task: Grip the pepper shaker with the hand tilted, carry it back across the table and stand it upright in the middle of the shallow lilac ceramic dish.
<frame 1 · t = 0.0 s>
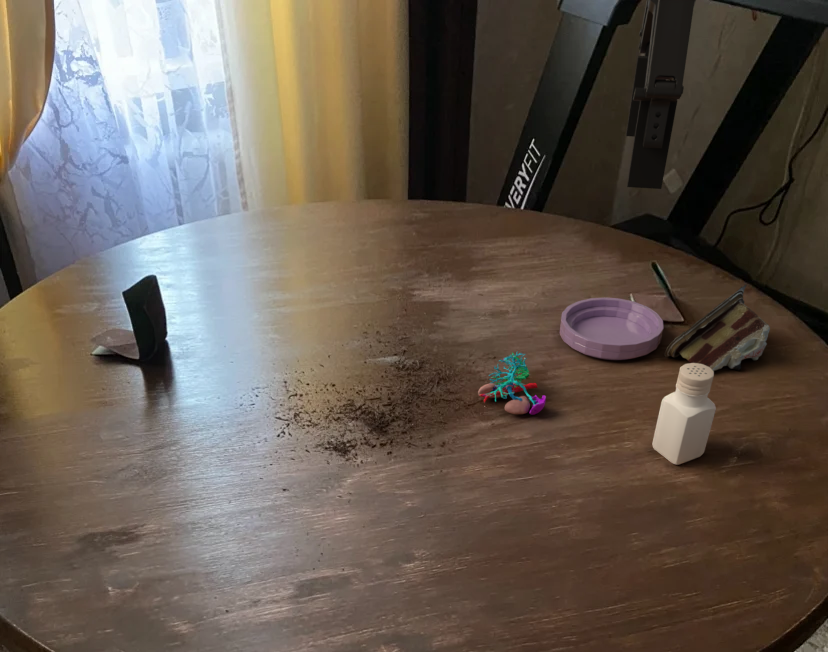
hand: (642, 159, 73), 27 cm above the table, tool pointing down, fingers open, 13 cm apart
pepper shaker: (676, 454, 86), on the table
anatomy model: (506, 406, 93), on the table
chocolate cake: (718, 359, 100), on the table
dish: (609, 338, 104), on the table
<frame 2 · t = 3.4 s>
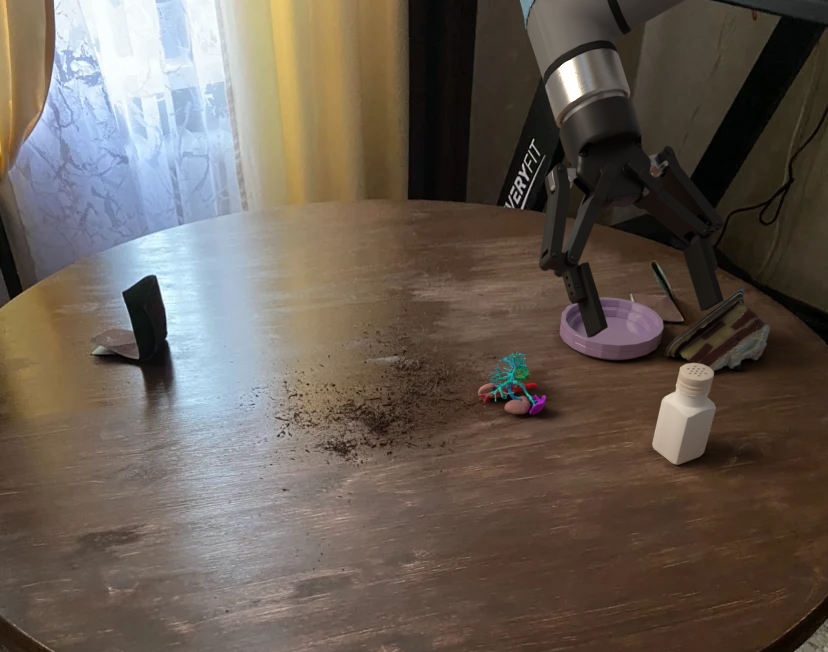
hand: (656, 319, 83), 12 cm above the table, tool tilted 45°, fingers open, 13 cm apart
nothing on the table moved.
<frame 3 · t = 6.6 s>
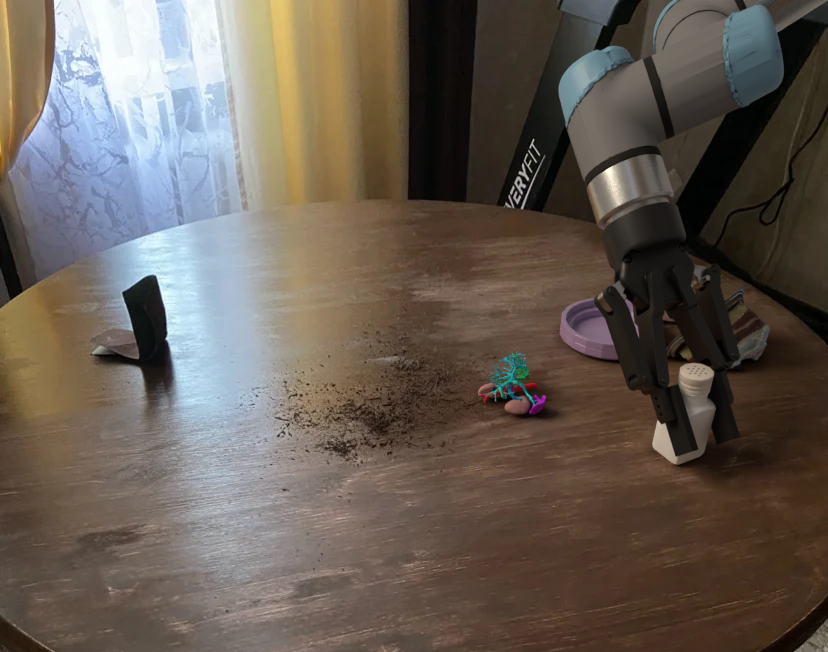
hand: (707, 446, 81), 3 cm above the table, tool tilted 45°, fingers closed on pepper shaker, 4 cm apart
pepper shaker: (676, 454, 86), on the table, touching gripper
everything else where it was.
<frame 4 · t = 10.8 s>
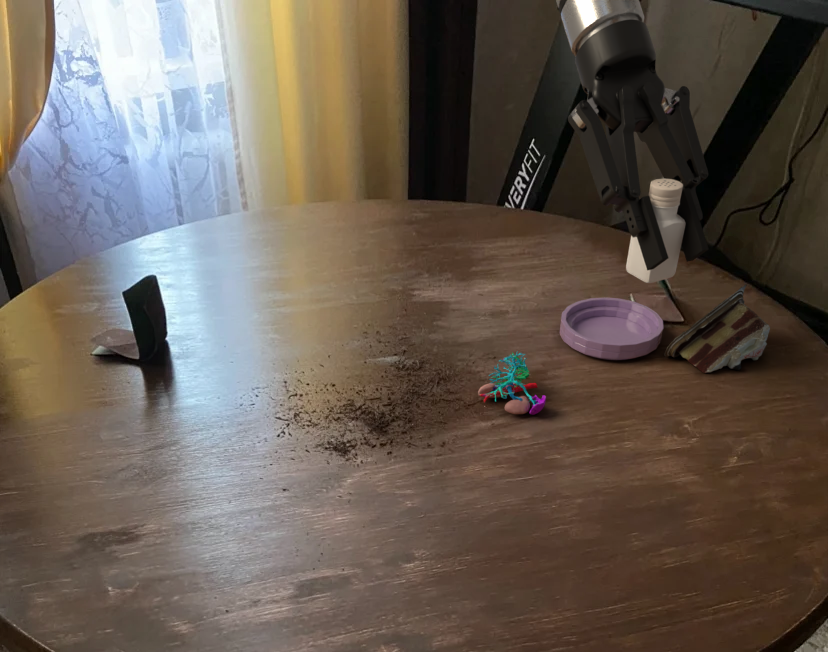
hand: (677, 259, 85), 15 cm above the table, tool tilted 45°, fingers closed on pepper shaker, 4 cm apart
pepper shaker: (649, 277, 89), point 12 cm above the table, touching gripper
everything else where it was.
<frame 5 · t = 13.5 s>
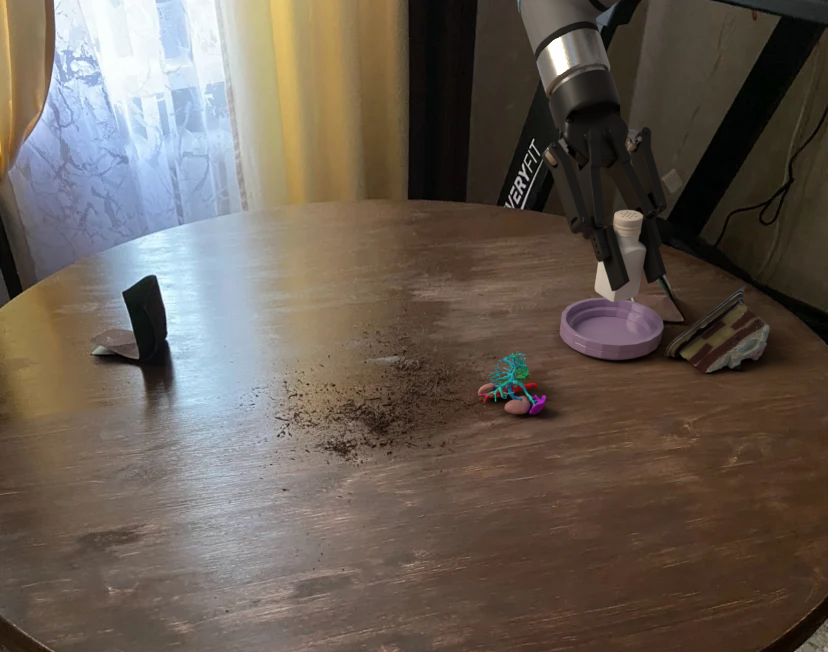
hand: (638, 281, 95), 9 cm above the table, tool tilted 45°, fingers closed on pepper shaker, 4 cm apart
pepper shaker: (615, 296, 100), point 6 cm above the table, touching gripper
everything else where it was.
when the fingers open (4 cm above the table, at t = 15.2 s): pepper shaker stays where it is, resting on dish.
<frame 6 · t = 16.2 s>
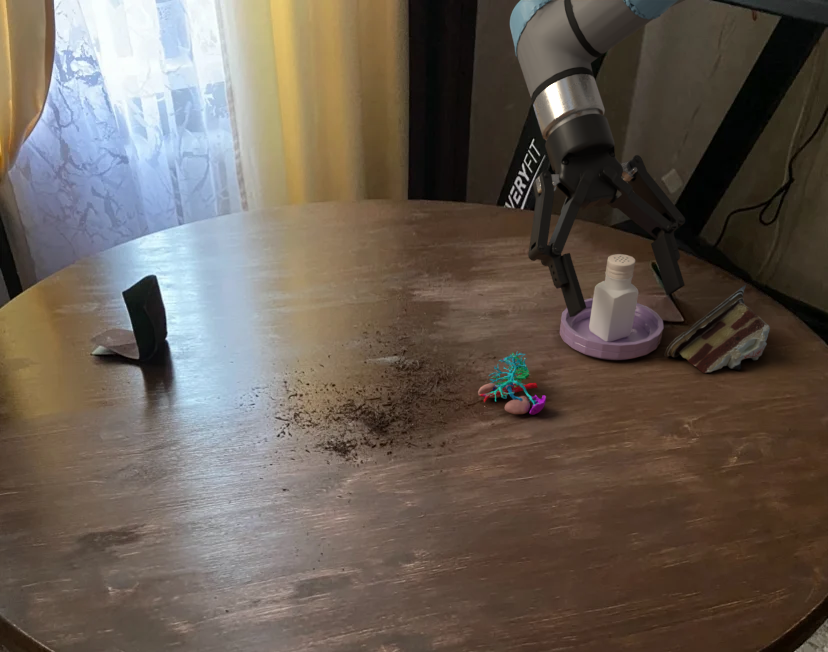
hand: (628, 301, 98), 6 cm above the table, tool tilted 45°, fingers open, 13 cm apart
pepper shaker: (609, 335, 103), resting on dish
everything else where it was.
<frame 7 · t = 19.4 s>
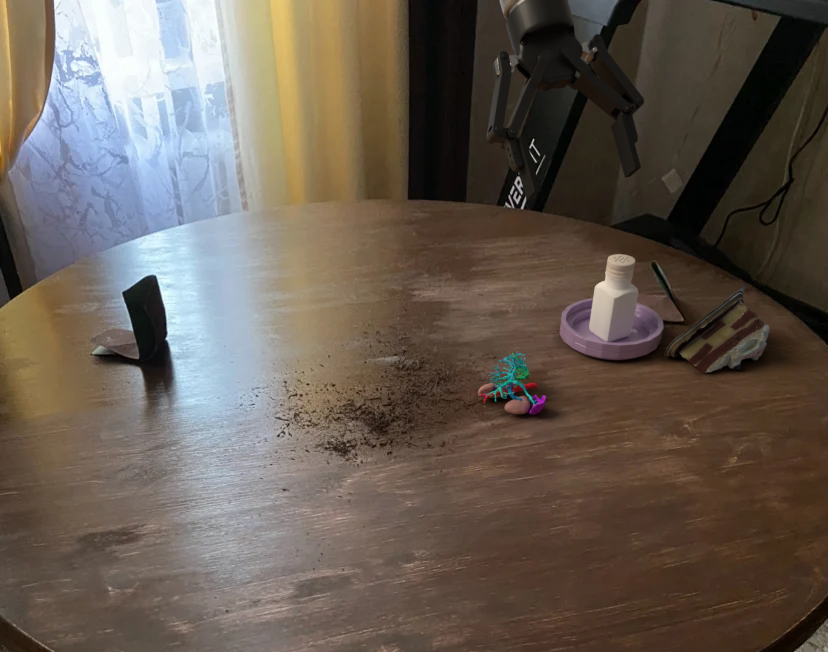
hand: (584, 184, 101), 15 cm above the table, tool tilted 40°, fingers open, 13 cm apart
nothing on the table moved.
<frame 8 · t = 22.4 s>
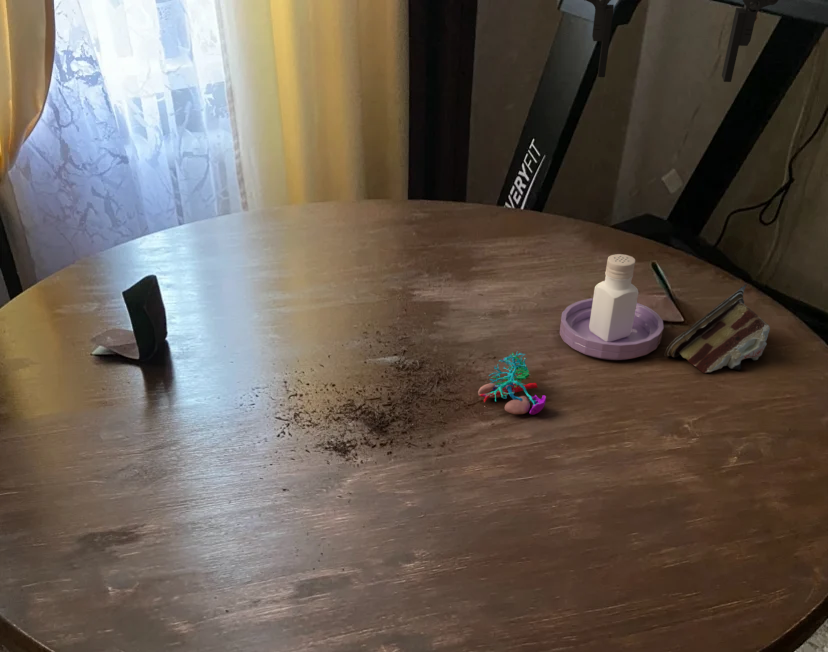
hand: (663, 76, 94), 27 cm above the table, tool pointing down, fingers open, 13 cm apart
nothing on the table moved.
at the end: pepper shaker 0.0 cm off-centre in the dish, point 0.4 cm above the dish's base; pepper shaker tilted 0°; the gripper is holding nothing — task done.
